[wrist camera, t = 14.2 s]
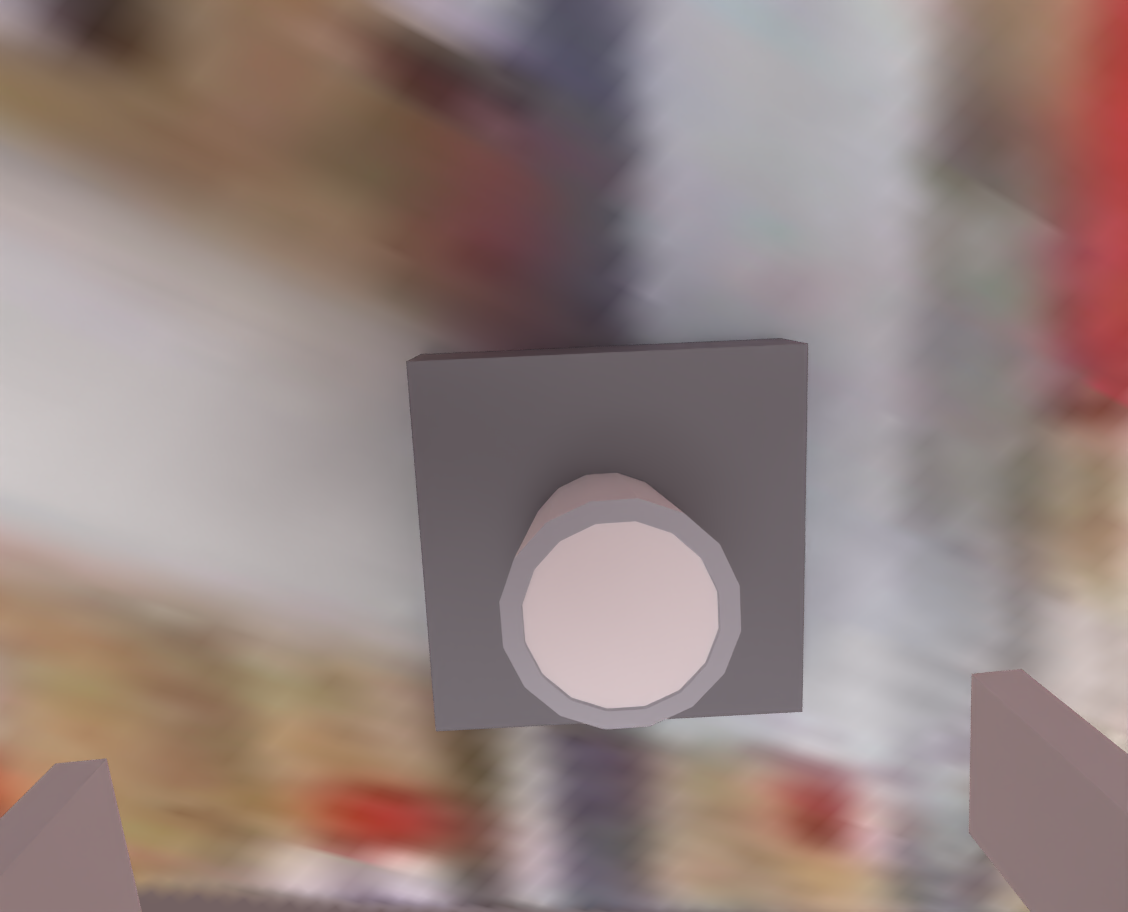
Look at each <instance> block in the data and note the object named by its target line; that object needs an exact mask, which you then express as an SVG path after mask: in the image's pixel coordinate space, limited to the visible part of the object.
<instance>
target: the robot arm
mask: <svg viewBox="0 0 1128 912" xmlns="http://www.w3.org/2000/svg"><path fill="white" fill-rule="evenodd" d="M969 834H970V835H971V836H972V837H973V839H974V840H975V841H976V843H977V844H978V845H979V846H980V848H981V849H982V850H983V852H984V853H985V854H986V855H987V857H988V858H989V859H990V860H991V862H992V863H993V864H994V866H995V867H996V868H997V869H998V871H999V872H1000V873H1001V874H1002V876H1003V877H1004V878H1005V880H1006V881H1007V882H1008V883H1009V885H1010V886H1011V887H1012V889H1013V890H1014V891H1015V892H1016V894H1017V895H1018V896H1019V897H1020V899H1021V900H1022V901H1023V903H1024V904H1025V905H1026V906H1027V908H1028V909H1029V910H1030V911H1031V912H1128V754H1127V753H1126V752H1125V751H1123V750H1122V749H1121V748H1120V747H1118V746H1117V745H1116V744H1115V743H1113V742H1112V741H1111V740H1110V739H1108V738H1107V737H1106V736H1105V735H1103V734H1102V733H1101V732H1100V731H1098V730H1097V729H1096V728H1095V727H1093V726H1092V725H1091V724H1090V723H1088V722H1087V721H1086V720H1084V719H1083V718H1082V717H1081V716H1079V715H1078V714H1077V713H1076V712H1074V711H1073V710H1072V709H1071V708H1069V707H1068V706H1067V705H1066V704H1064V703H1063V702H1062V701H1061V700H1059V699H1058V698H1057V697H1056V696H1054V695H1053V694H1052V693H1051V692H1049V691H1048V690H1047V689H1046V688H1044V687H1043V686H1042V685H1041V684H1039V683H1038V682H1037V681H1036V680H1034V679H1033V678H1032V677H1031V676H1029V675H1028V674H1027V673H1026V672H1024V671H1023V670H1022V669H1017V670H1006V671H996V672H986V673H976V674H972V681H971V740H970V799H969ZM0 912H142V911H141V907H140V902H139V898H138V893H137V889H136V885H135V880H134V876H133V871H132V867H131V863H130V858H129V854H128V850H127V845H126V841H125V837H124V832H123V828H122V824H121V819H120V815H119V810H118V806H117V802H116V797H115V793H114V789H113V784H112V780H111V776H110V771H109V767H108V763H107V759H98V760H87V761H77V762H67V763H57V764H55V765H54V766H53V767H52V768H51V769H50V770H49V771H48V772H47V773H46V774H45V775H44V776H43V777H42V778H41V779H40V780H39V781H38V782H37V783H36V784H35V785H34V786H33V787H32V788H31V789H30V790H29V791H28V792H27V793H26V794H25V795H24V796H23V797H22V798H21V799H20V800H19V801H18V802H17V803H16V804H15V805H14V806H13V807H12V808H11V809H10V810H9V811H8V812H7V813H6V814H5V815H4V816H3V817H2V818H1V819H0Z"/></svg>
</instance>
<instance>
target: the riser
mask: <svg viewBox="0 0 1128 912" xmlns="http://www.w3.org/2000/svg"><path fill="white" fill-rule="evenodd" d="M406 363H407V376H408V388H409V401H410V413H411V426H412V438H413V451H414V463H415V476H416V488H417V501H418V513H419V526H420V538H421V551H422V563H423V576H424V588H425V601H426V613H427V626H428V638H429V651H430V663H431V676H432V688H433V701H434V713H435V726H436V731H449V730H468V729H486V728H505V727H524V726H543V725H562V724H581V723H582V722H579V721H575V720H572V719H569V718H566V717H562V716H560V715H558V714H557V713H556V712H555V711H553V710H552V709H551V708H550V707H549V706H547V705H546V704H545V703H544V702H542V701H541V700H540V699H539V698H537V697H536V696H535V695H534V694H532V693H531V692H530V691H529V690H527V689H526V688H525V687H524V685H523V683H522V682H521V680H520V678H519V676H518V674H517V672H516V670H515V669H514V667H513V665H512V663H511V661H510V659H509V657H508V656H507V654H506V652H505V650H504V648H503V640H502V628H501V617H500V605H499V601H500V599H501V596H502V593H503V590H504V587H505V584H506V581H507V578H508V575H509V572H510V569H511V566H512V563H513V560H514V558H515V556H516V554H517V552H518V550H519V548H520V546H521V544H522V542H523V540H524V538H525V536H526V534H527V532H528V530H529V528H530V526H531V524H532V522H533V520H534V518H535V516H536V514H537V512H538V510H539V509H540V508H541V507H542V506H543V505H544V504H545V503H546V501H547V500H548V499H549V498H550V497H551V496H552V495H553V494H554V492H555V491H556V490H557V489H558V488H560V487H562V486H564V485H566V484H568V483H570V482H572V481H574V480H576V479H578V478H580V477H582V476H584V475H589V474H604V473H619V474H622V475H625V476H628V477H631V478H634V479H637V480H640V481H643V482H646V483H647V484H648V485H649V486H651V487H652V488H653V489H654V490H656V491H657V492H658V493H659V494H661V495H662V496H663V497H665V498H666V499H667V500H668V501H670V502H671V503H672V504H673V505H675V506H676V507H677V508H678V509H680V510H681V511H682V512H683V513H685V514H686V515H687V516H688V517H689V518H690V519H691V520H693V521H694V522H695V523H696V524H697V525H698V526H700V527H701V528H702V529H703V530H704V531H705V532H706V533H708V534H709V535H710V536H711V537H712V538H713V539H714V540H716V541H717V542H718V543H719V544H720V545H721V548H722V550H723V552H724V554H725V556H726V558H727V560H728V562H729V564H730V566H731V568H732V571H733V573H734V575H735V577H736V579H737V581H738V583H739V585H740V610H741V633H740V635H739V638H738V640H737V643H736V646H735V648H734V651H733V653H732V656H731V658H730V661H729V663H728V666H727V668H726V671H725V673H724V675H723V676H722V677H721V678H720V679H719V680H718V681H717V682H716V683H715V684H714V685H713V686H712V687H711V688H710V689H709V690H708V691H707V692H706V693H705V694H704V695H703V696H702V697H701V699H700V700H699V701H698V702H697V703H696V704H695V705H694V706H693V707H691V708H689V709H687V710H684V711H682V712H680V713H678V714H676V715H674V716H671V717H669V718H667V719H675V718H694V717H713V716H732V715H750V714H769V713H788V712H802V696H803V633H804V570H805V507H806V445H807V382H808V344H807V343H802V342H797V341H792V340H786V339H781V338H778V339H755V340H733V341H710V342H688V343H665V344H642V345H620V346H597V347H575V348H552V349H530V350H507V351H485V352H462V353H440V354H420V355H418V356H416V357H414V358H412V359H411V360H409V361H407V362H406Z"/></svg>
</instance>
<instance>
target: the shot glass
mask: <svg viewBox="0 0 1128 912" xmlns="http://www.w3.org/2000/svg"><path fill="white" fill-rule="evenodd" d="M499 605H500V617H501V628H502V640H503V648H504V650H505V652H506V654H507V656H508V657H509V659H510V661H511V663H512V665H513V667H514V669H515V670H516V672H517V674H518V676H519V678H520V680H521V682H522V683H523V685H524V687H525V688H526V689H527V690H529V691H530V692H531V693H532V694H534V695H535V696H536V697H537V698H539V699H540V700H541V701H542V702H544V703H545V704H546V705H547V706H549V707H550V708H551V709H552V710H553V711H555V712H556V713H557V714H558V715H560V716H562V717H566V718H569V719H572V720H575V721H579V722H582V723H585V724H588V725H592V726H595V727H598V728H601V729H617V728H632V727H646V726H652V725H654V724H656V723H659V722H661V721H663V720H665V719H667V718H669V717H671V716H674V715H676V714H678V713H680V712H682V711H684V710H687V709H689V708H691V707H693V706H694V705H695V704H696V703H697V702H698V701H699V700H700V699H701V697H702V696H703V695H704V694H705V693H706V692H707V691H708V690H709V689H710V688H711V687H712V686H713V685H714V684H715V683H716V682H717V681H718V680H719V679H720V678H721V677H722V676H723V675H724V673H725V671H726V668H727V666H728V663H729V661H730V658H731V656H732V653H733V651H734V648H735V646H736V643H737V640H738V638H739V635H740V633H741V610H740V585H739V583H738V581H737V579H736V577H735V575H734V573H733V571H732V568H731V566H730V564H729V562H728V560H727V558H726V556H725V554H724V552H723V550H722V548H721V545H720V544H719V543H718V542H717V541H716V540H714V539H713V538H712V537H711V536H710V535H709V534H708V533H706V532H705V531H704V530H703V529H702V528H701V527H700V526H698V525H697V524H696V523H695V522H694V521H693V520H691V519H690V518H689V517H688V516H687V515H686V514H685V513H683V512H682V511H681V510H680V509H678V508H677V507H676V506H675V505H673V504H672V503H671V502H670V501H668V500H667V499H666V498H665V497H663V496H662V495H661V494H659V493H658V492H657V491H656V490H654V489H653V488H652V487H651V486H649V485H648V484H647V483H646V482H643V481H640V480H637V479H634V478H631V477H628V476H625V475H622V474H619V473H604V474H589V475H584V476H582V477H580V478H578V479H576V480H574V481H572V482H570V483H568V484H566V485H564V486H562V487H560V488H558V489H557V490H556V491H555V492H554V494H553V495H552V496H551V497H550V498H549V499H548V500H547V501H546V503H545V504H544V505H543V506H542V507H541V508H540V509H539V510H538V512H537V514H536V516H535V518H534V520H533V522H532V524H531V526H530V528H529V530H528V532H527V534H526V536H525V538H524V540H523V542H522V544H521V546H520V548H519V550H518V552H517V554H516V556H515V558H514V560H513V563H512V566H511V569H510V572H509V575H508V578H507V581H506V584H505V587H504V590H503V593H502V596H501V599H500V601H499Z"/></svg>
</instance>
